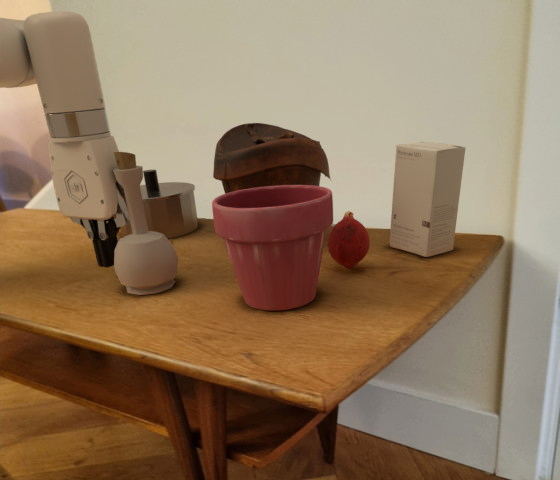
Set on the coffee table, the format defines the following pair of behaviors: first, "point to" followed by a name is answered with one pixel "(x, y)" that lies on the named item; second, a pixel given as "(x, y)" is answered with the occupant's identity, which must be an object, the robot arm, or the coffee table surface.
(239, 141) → the chocolate muffin
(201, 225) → the coffee table surface
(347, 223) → the onion
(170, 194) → the pan lid
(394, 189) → the cosmetic box
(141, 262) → the potion bottle
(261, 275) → the flower pot
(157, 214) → the pan
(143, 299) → the coffee table surface
